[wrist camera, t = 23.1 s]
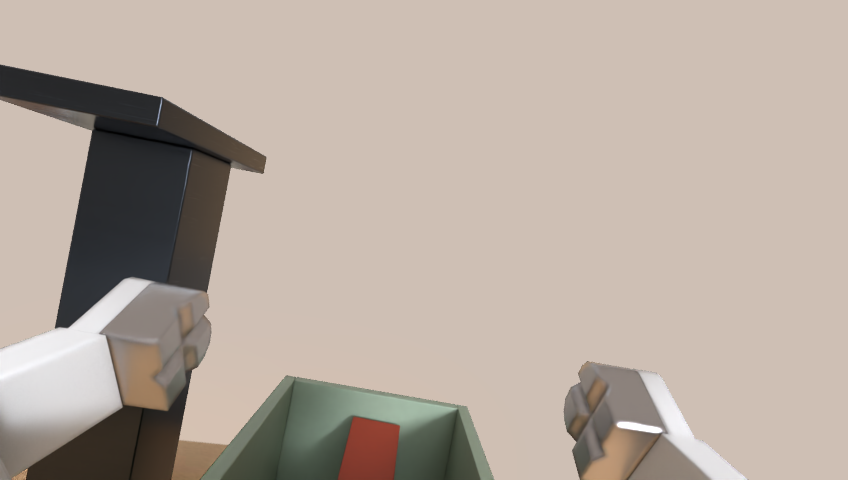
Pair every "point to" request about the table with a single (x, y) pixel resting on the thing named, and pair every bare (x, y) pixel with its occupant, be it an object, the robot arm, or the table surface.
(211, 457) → the table surface
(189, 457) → the table surface
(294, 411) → the green open box
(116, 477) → the shelf stand
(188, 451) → the table surface
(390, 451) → the red flat bar
